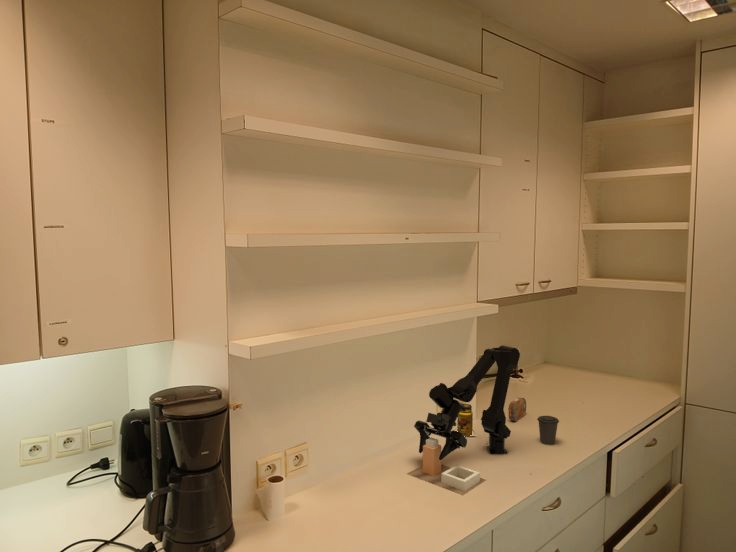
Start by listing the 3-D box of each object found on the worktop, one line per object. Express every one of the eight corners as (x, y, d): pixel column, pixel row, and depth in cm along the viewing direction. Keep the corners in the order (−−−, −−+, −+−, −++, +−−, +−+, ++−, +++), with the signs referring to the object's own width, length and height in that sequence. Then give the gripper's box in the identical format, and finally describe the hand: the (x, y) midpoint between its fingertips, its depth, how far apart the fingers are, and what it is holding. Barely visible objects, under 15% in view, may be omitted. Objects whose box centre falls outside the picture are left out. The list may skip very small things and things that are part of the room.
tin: (513, 423, 229) (514, 404, 229) (506, 422, 231) (507, 403, 231) (526, 414, 241) (527, 396, 241) (520, 412, 243) (520, 394, 243)
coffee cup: (560, 447, 204) (560, 421, 203) (537, 445, 205) (538, 419, 205) (557, 439, 212) (557, 414, 211) (535, 437, 213) (536, 413, 212)
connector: (422, 471, 180) (422, 440, 179) (430, 467, 183) (430, 436, 182) (433, 475, 177) (433, 443, 176) (441, 471, 180) (441, 439, 179)
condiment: (457, 437, 214) (457, 407, 213) (454, 429, 222) (454, 401, 222) (475, 437, 214) (476, 407, 213) (471, 429, 222) (472, 401, 222)
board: (406, 477, 179) (406, 473, 178) (431, 464, 189) (431, 460, 189) (462, 499, 164) (462, 495, 164) (486, 483, 174) (486, 479, 174)
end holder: (441, 482, 172) (441, 473, 172) (456, 473, 179) (456, 464, 178) (464, 491, 166) (465, 481, 166) (479, 481, 173) (479, 472, 172)
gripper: (417, 397, 188) (397, 437, 180) (462, 409, 175) (443, 452, 168) (430, 414, 194) (411, 452, 187) (475, 426, 181) (456, 468, 174)
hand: (429, 456), depth 179 cm, fingers open, 8 cm apart
